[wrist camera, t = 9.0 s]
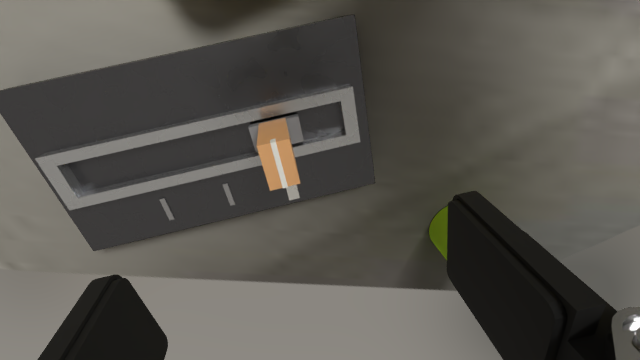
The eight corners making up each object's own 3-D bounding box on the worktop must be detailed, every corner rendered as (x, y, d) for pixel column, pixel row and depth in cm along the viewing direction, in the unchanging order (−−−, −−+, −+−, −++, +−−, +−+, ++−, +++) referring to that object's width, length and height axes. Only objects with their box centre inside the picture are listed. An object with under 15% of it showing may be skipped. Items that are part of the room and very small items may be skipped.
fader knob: (247, 118, 22) (239, 150, 17) (296, 107, 23) (305, 134, 17) (258, 154, 24) (254, 195, 18) (304, 143, 24) (315, 180, 18)
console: (15, 86, 22) (-27, 96, 19) (346, 15, 23) (358, 13, 20) (107, 233, 28) (87, 259, 25) (366, 170, 29) (378, 188, 26)
